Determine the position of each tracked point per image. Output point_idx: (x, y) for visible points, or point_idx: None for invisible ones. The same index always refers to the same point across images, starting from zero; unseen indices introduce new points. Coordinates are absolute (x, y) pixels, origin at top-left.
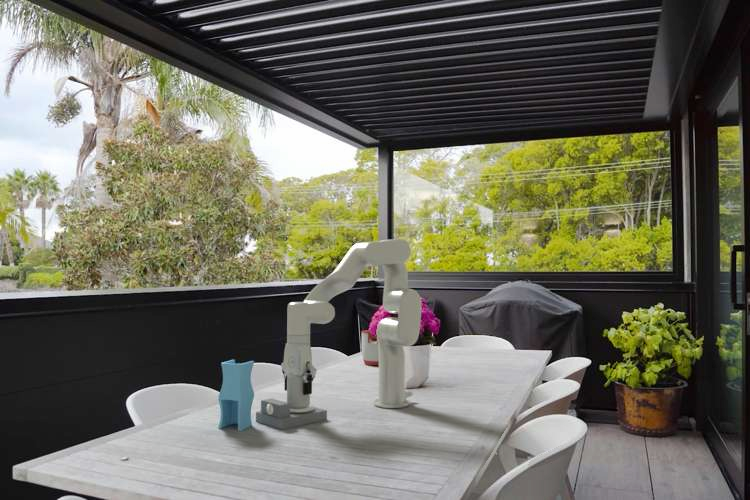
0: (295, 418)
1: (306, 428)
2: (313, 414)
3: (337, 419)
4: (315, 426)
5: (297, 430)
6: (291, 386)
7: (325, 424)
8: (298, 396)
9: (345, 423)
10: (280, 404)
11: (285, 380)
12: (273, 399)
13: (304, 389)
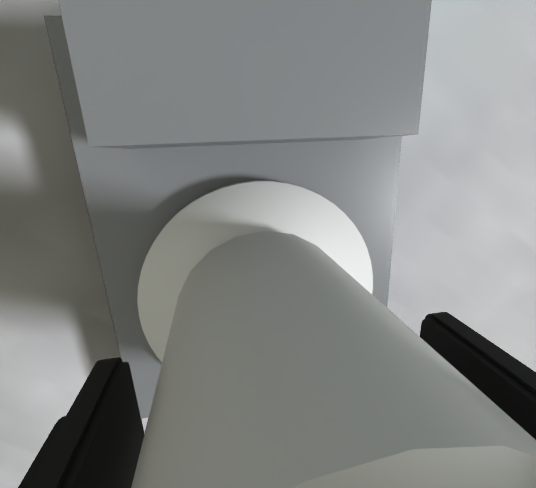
0: (82, 165)
1: (24, 195)
2: (117, 321)
3: None
4: (42, 262)
5: (5, 119)
6: (259, 319)
7: (54, 327)
8: (181, 313)
9: (13, 414)
10: (98, 13)
11: (532, 385)
12: (368, 121)
13: (73, 412)
